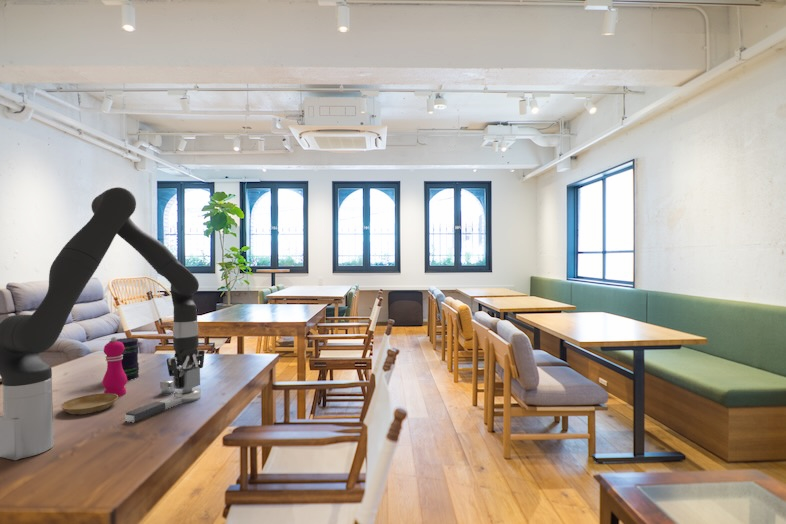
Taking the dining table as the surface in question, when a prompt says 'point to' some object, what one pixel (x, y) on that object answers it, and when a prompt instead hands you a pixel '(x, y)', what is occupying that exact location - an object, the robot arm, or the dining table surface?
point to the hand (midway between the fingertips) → (187, 385)
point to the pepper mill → (114, 368)
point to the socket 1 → (167, 387)
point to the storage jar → (130, 357)
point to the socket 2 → (190, 377)
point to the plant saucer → (89, 403)
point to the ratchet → (163, 404)
